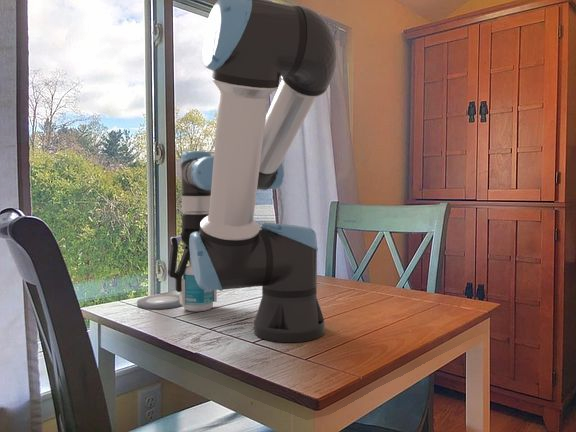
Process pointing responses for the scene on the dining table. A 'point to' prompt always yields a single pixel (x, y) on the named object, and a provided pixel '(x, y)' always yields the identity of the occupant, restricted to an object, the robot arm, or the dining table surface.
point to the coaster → (159, 302)
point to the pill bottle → (195, 292)
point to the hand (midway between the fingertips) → (198, 302)
